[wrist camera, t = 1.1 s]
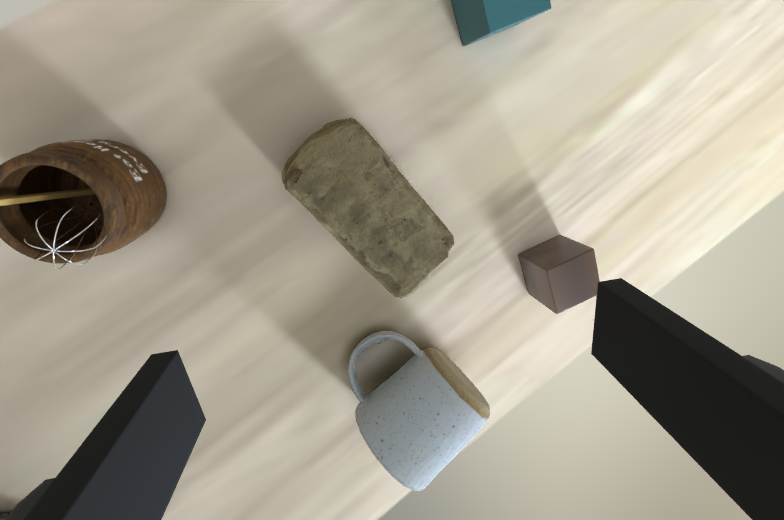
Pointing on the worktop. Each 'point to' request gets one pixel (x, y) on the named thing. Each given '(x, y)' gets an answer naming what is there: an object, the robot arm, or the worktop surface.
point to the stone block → (368, 206)
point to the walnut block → (560, 273)
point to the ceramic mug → (417, 413)
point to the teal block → (493, 16)
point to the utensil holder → (78, 200)
